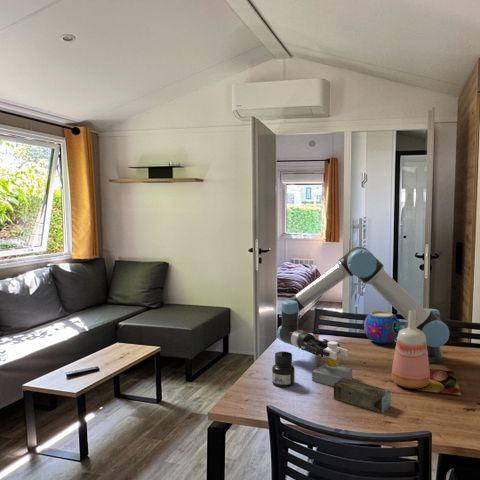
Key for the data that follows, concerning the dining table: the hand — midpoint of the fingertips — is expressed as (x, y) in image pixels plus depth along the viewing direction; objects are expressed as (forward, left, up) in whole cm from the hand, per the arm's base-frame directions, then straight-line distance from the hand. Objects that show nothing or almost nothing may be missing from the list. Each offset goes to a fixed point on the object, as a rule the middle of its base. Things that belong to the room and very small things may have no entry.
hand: (341, 355), depth 187 cm
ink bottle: (+19, +13, -12) cm, 26 cm away
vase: (-22, -16, -12) cm, 30 cm away
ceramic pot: (+8, -64, -12) cm, 65 cm away
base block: (+5, -2, -12) cm, 13 cm away
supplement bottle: (+5, -2, -6) cm, 8 cm away
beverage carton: (-13, +12, -12) cm, 22 cm away
